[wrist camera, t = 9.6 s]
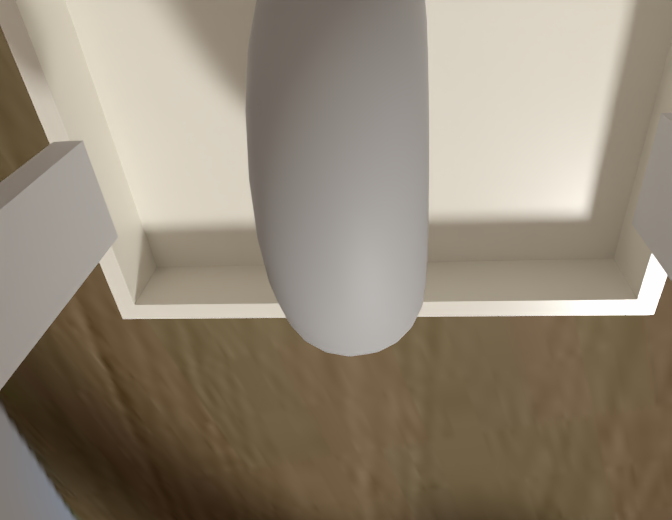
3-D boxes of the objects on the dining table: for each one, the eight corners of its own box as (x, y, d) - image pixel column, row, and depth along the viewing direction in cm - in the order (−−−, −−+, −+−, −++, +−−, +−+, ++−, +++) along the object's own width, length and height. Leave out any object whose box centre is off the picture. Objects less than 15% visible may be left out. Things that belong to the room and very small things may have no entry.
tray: (623, 263, 21) (653, 314, 19) (150, 272, 23) (122, 319, 21) (777, -286, 12) (871, -325, 10) (-12, -188, 14) (-93, -199, 12)
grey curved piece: (288, -96, 15) (163, -53, 7) (417, -108, 14) (455, -79, 6) (323, 220, 20) (280, 450, 12) (416, 217, 20) (434, 454, 12)
